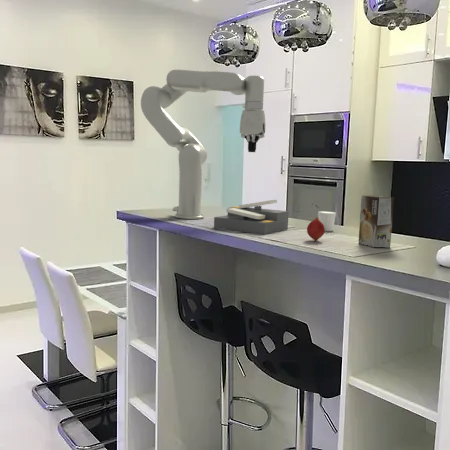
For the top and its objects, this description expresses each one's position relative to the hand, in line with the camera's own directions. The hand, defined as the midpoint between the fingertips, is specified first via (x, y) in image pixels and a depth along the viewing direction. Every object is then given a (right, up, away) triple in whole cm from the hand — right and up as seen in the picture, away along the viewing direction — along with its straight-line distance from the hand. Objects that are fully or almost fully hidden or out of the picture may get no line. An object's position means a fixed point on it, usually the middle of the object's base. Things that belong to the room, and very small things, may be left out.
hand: (251, 152), depth 210 cm
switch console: (-1, -32, -17) cm, 36 cm away
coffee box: (+37, -37, -45) cm, 70 cm away
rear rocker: (+2, -23, -15) cm, 27 cm away
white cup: (+28, -33, -13) cm, 45 cm away
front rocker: (-3, -27, -22) cm, 35 cm away
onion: (+19, -36, -41) cm, 57 cm away
